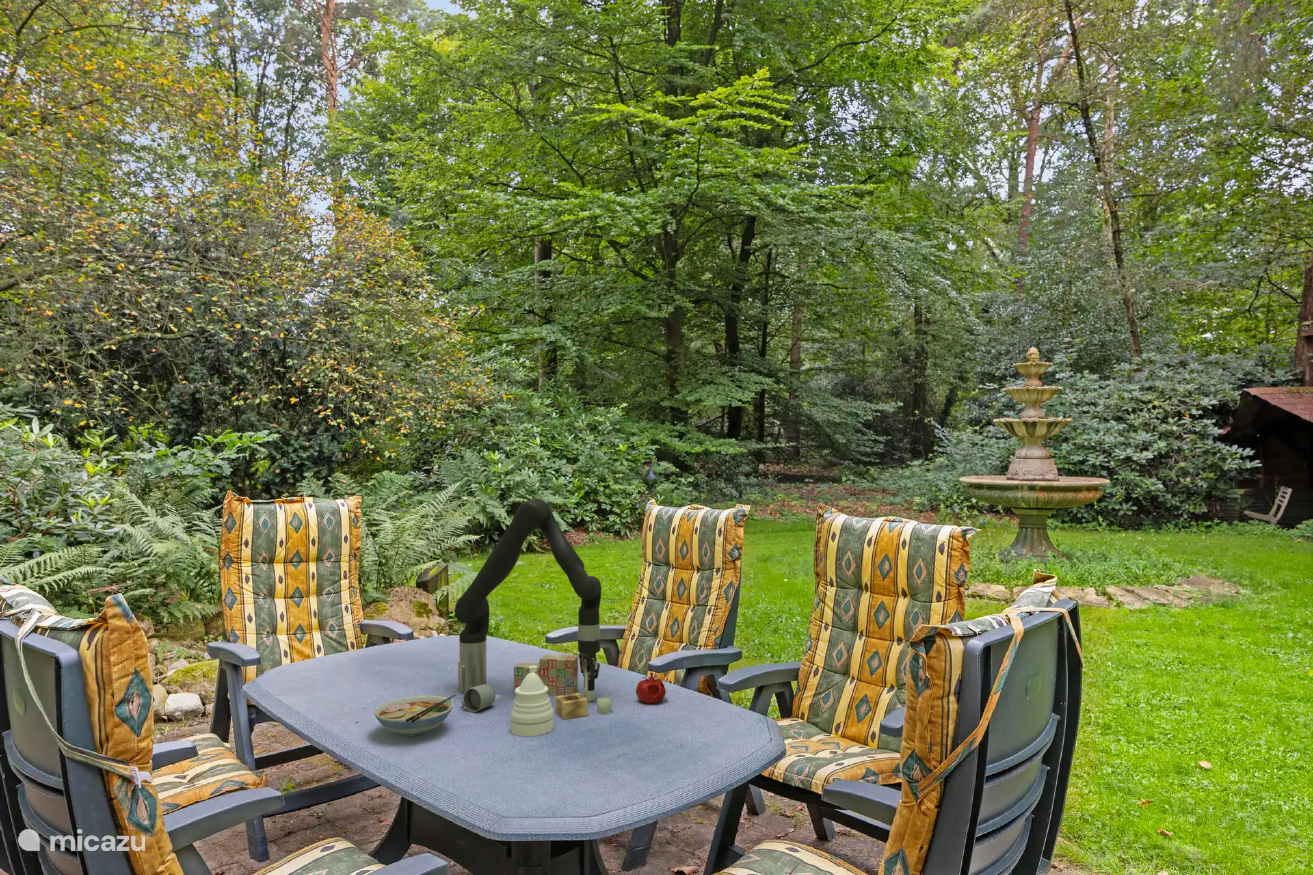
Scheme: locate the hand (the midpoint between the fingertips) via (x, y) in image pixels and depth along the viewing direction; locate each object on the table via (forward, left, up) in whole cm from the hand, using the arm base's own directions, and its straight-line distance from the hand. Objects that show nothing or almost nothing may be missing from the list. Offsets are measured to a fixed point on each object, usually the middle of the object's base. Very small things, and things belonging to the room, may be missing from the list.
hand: (589, 688), depth 258 cm
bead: (0, -13, -4) cm, 14 cm away
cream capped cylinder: (0, 0, -4) cm, 4 cm away
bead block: (-10, -10, -4) cm, 15 cm away
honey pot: (-25, -17, -4) cm, 31 cm away
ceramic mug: (-35, +10, -4) cm, 37 cm away
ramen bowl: (-57, -3, -4) cm, 57 cm away
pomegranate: (+18, -10, -4) cm, 21 cm away
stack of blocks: (-10, +16, -4) cm, 19 cm away
